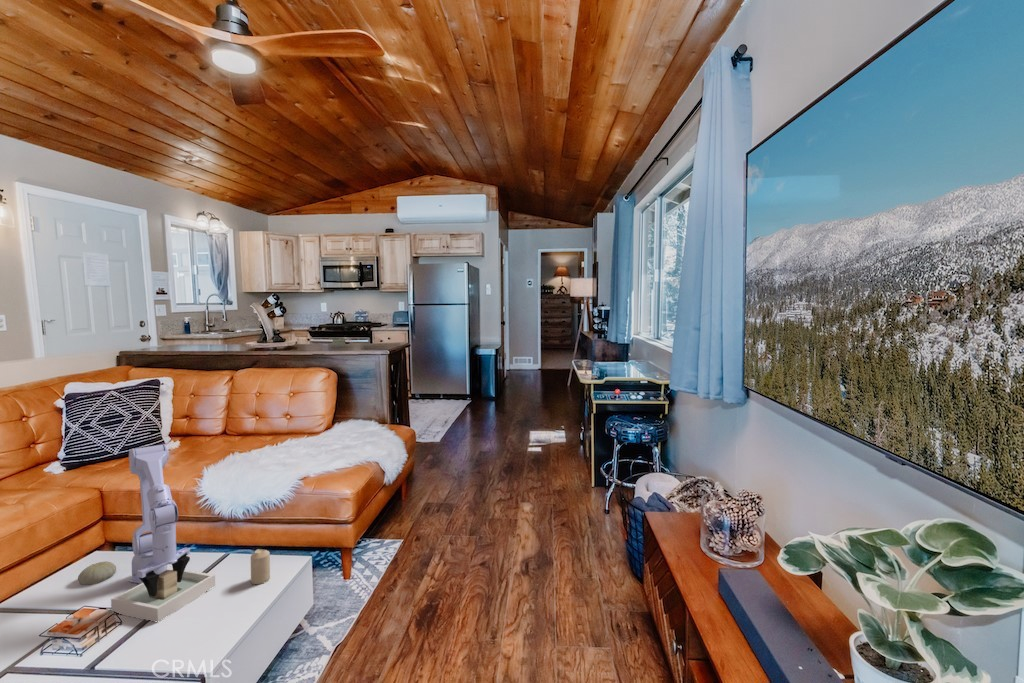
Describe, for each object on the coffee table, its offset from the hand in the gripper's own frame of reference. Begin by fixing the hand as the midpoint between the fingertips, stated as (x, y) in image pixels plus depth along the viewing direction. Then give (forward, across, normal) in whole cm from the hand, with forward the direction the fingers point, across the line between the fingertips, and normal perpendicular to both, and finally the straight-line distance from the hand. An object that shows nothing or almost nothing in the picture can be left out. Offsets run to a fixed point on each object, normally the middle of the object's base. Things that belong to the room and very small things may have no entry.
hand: (165, 588), depth 136 cm
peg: (+3, 0, 0) cm, 3 cm away
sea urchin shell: (+4, +3, +34) cm, 34 cm away
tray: (+3, 0, 0) cm, 3 cm away
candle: (+4, +16, -20) cm, 26 cm away
